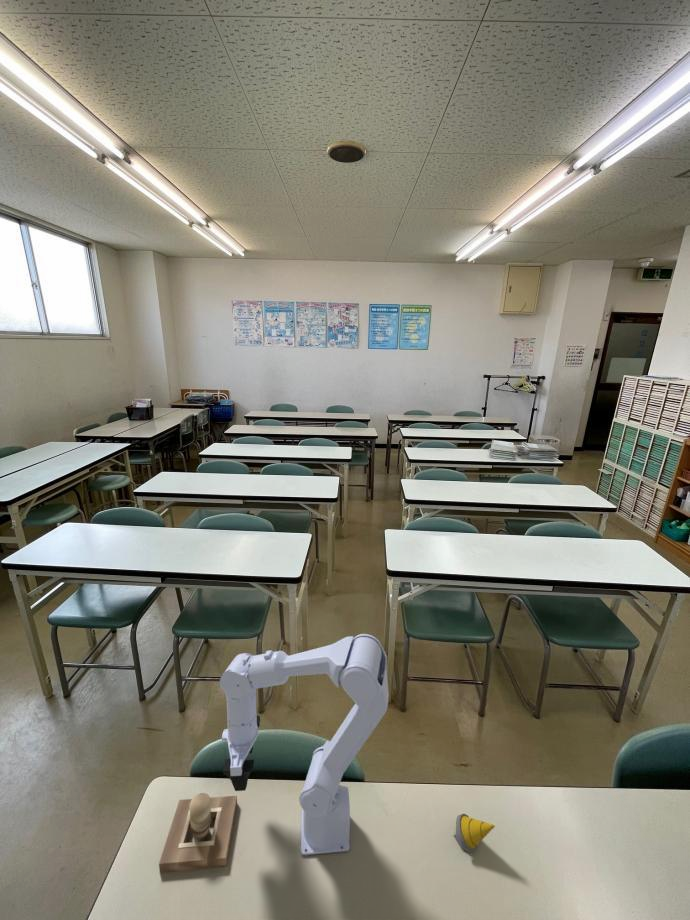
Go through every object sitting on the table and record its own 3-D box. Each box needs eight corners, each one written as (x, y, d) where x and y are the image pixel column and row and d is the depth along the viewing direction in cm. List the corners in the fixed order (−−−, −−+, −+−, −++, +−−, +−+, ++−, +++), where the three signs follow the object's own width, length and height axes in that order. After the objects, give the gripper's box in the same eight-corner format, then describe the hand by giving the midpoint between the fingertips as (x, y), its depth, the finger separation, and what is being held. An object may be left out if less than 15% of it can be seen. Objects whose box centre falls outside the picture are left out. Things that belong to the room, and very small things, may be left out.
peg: (214, 823, 78) (212, 792, 76) (208, 846, 74) (206, 813, 72) (195, 824, 77) (193, 792, 76) (188, 847, 74) (186, 814, 72)
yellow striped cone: (457, 819, 80) (497, 809, 76) (464, 855, 75) (507, 847, 71) (442, 815, 78) (482, 804, 74) (448, 852, 73) (491, 843, 69)
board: (237, 803, 82) (236, 795, 81) (225, 866, 71) (225, 857, 70) (179, 807, 81) (179, 799, 80) (159, 872, 70) (158, 863, 69)
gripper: (229, 686, 83) (231, 739, 85) (212, 749, 68) (215, 809, 71) (262, 685, 83) (263, 737, 86) (251, 746, 69) (253, 806, 72)
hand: (243, 769), depth 78 cm, fingers open, 7 cm apart
